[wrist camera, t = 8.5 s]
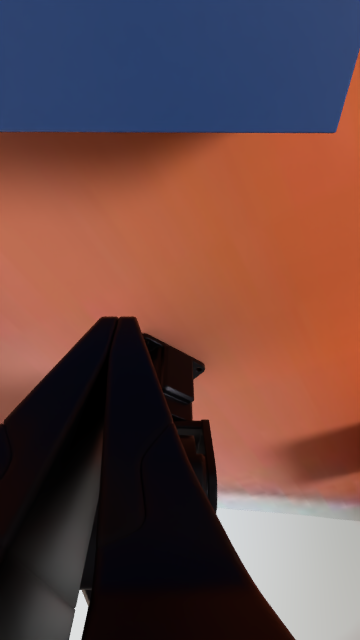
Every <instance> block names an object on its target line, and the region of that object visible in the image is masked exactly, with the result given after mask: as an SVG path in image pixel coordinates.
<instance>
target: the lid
mask: <svg viewBox="0 0 360 640" xmlns="http://www.w3.org/2000/svg"><path fill="white" fill-rule="evenodd" d="M359 49H360V0H0V132H160V133H335V132H336V130H337V127H338V123H339V120H340V116H341V112H342V109H343V105H344V102H345V98H346V95H347V91H348V88H349V84H350V81H351V77H352V74H353V70H354V67H355V63H356V60H357V56H358V53H359Z"/></svg>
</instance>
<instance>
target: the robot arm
mask: <svg viewBox="0 0 360 640" xmlns="http://www.w3.org/2000/svg"><path fill="white" fill-rule="evenodd" d="M204 370H205V365H204V364H203V363H202V362H200V361H198V360H196V359H194V358H192V357H190V356H188V355H187V354H185V353H183V352H181V351H179V350H177V349H175V348H173V347H171V346H169V345H168V344H166V343H164V342H162V341H160V340H158V339H156V338H154V337H152V336H150V335H148V334H142V332H141V330H140V327H139V324H138V321H137V319H136V317H120V318H118V317H101V318H100V319H99V320H98V321H97V322H96V323H95V324H94V325H93V326H92V327H91V328H90V330H89V331H88V332H87V333H86V334H85V335H84V336H83V337H82V338H81V339H80V340H79V341H78V342H77V343H76V344H75V345H74V347H73V348H72V349H71V350H70V351H69V352H68V353H67V354H66V355H65V356H64V357H63V358H62V359H61V360H60V361H59V362H58V364H57V365H56V366H55V367H54V368H53V369H52V370H51V371H50V372H49V373H48V374H47V375H46V376H45V377H44V378H43V379H42V381H41V382H40V383H39V384H38V385H37V386H36V387H35V388H34V389H33V390H32V391H31V392H30V393H29V394H28V395H27V396H26V398H25V399H24V400H23V401H22V402H21V403H20V404H19V405H18V406H17V407H16V408H15V409H14V410H13V411H12V412H11V414H10V415H9V416H8V417H7V418H6V419H5V420H4V424H0V640H69V636H70V632H71V627H72V623H73V618H74V613H75V609H74V608H75V607H76V603H77V598H78V593H79V590H82V592H83V594H84V597H85V599H86V602H87V604H88V612H87V616H86V621H85V625H84V630H83V635H82V640H295V638H294V637H293V636H292V634H291V633H290V632H289V630H288V629H287V628H286V626H285V625H284V624H283V622H282V621H281V620H280V618H279V617H278V615H277V614H276V613H275V611H274V610H273V609H272V607H271V606H270V605H269V604H268V602H267V601H266V599H265V598H264V597H263V595H262V594H261V592H260V591H259V590H258V588H257V586H256V585H255V583H254V582H253V580H252V578H251V577H250V575H249V574H248V572H247V570H246V569H245V567H244V565H243V563H242V562H241V560H240V558H239V556H238V555H237V553H236V551H235V549H234V547H233V546H232V544H231V542H230V540H229V538H228V536H227V534H226V532H225V530H224V529H223V527H222V525H221V523H220V521H219V519H218V517H217V515H216V510H217V475H216V465H215V458H214V451H213V445H212V438H211V431H210V424H209V420H201V421H193V420H192V402H193V401H194V387H193V379H195V378H196V377H197V376H199V375H200V374H201V373H202V372H204Z"/></svg>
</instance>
